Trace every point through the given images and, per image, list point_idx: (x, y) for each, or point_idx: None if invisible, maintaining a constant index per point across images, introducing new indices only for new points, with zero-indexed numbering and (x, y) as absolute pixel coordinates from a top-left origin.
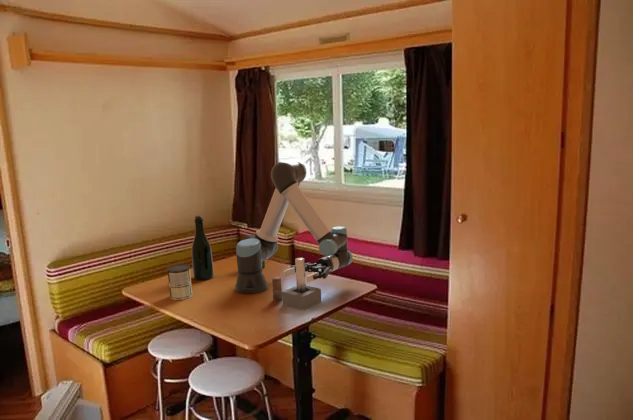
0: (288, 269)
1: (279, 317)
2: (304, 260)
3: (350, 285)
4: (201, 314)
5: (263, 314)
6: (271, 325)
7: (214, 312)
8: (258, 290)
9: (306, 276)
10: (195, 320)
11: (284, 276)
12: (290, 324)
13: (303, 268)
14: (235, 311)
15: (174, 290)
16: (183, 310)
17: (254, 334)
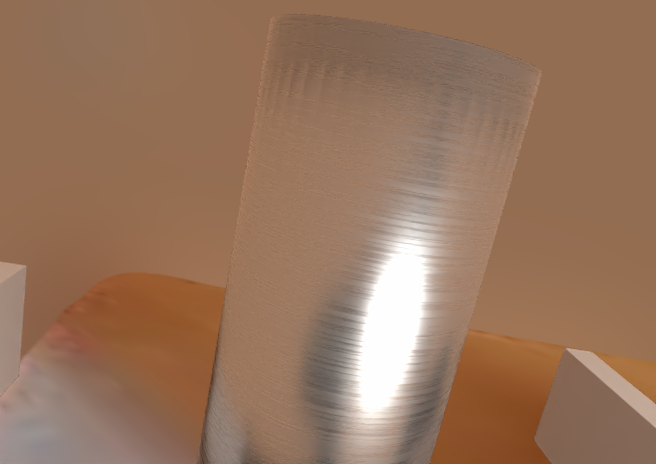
0: (652, 415)
1: (190, 443)
2: (288, 71)
3: None
4: (545, 365)
5: None
6: (160, 365)
7: (541, 388)
8: None
9: (25, 273)
10: (488, 334)
11: (544, 432)
12: (42, 396)
13: (231, 269)
14: (495, 421)
15: None
16: (634, 371)
17: (175, 307)
